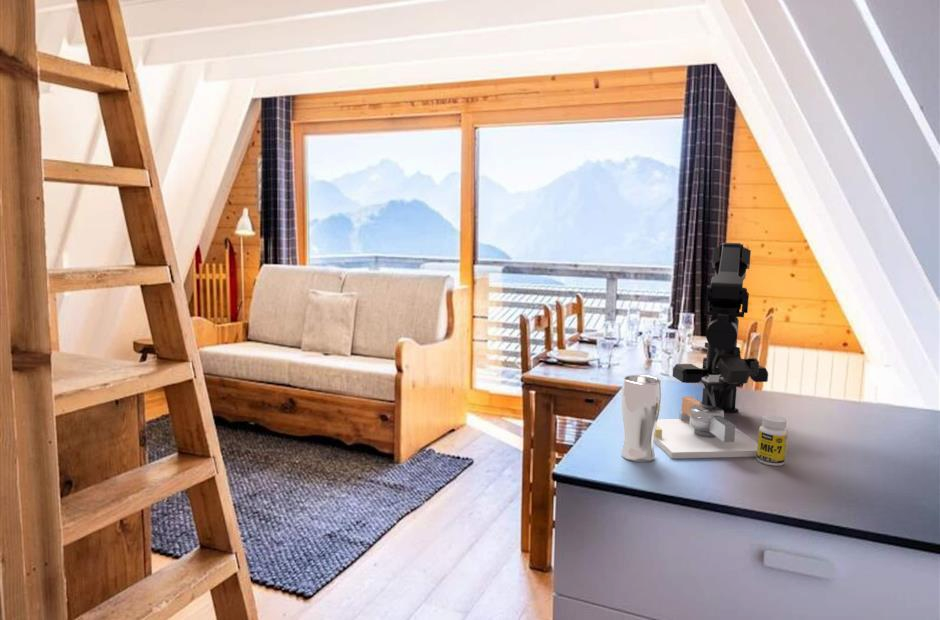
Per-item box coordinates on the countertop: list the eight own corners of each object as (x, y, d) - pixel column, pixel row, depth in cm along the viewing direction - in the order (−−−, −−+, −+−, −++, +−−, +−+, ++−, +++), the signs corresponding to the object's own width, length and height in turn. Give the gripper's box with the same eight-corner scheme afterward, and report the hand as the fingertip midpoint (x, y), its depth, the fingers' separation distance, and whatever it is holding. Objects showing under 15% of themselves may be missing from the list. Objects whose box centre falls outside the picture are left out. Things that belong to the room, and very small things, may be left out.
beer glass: (636, 466, 116) (640, 386, 114) (611, 453, 122) (615, 376, 120) (665, 459, 119) (670, 381, 117) (639, 447, 125) (643, 373, 123)
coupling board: (720, 423, 140) (721, 411, 140) (768, 456, 122) (769, 442, 121) (636, 425, 139) (636, 412, 138) (671, 458, 120) (672, 444, 119)
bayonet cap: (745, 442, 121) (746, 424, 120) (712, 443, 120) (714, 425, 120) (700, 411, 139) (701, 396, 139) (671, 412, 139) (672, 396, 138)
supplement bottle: (755, 463, 118) (759, 419, 117) (757, 455, 122) (760, 412, 121) (784, 468, 116) (788, 423, 115) (785, 459, 120) (789, 416, 119)
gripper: (697, 349, 126) (691, 425, 128) (786, 348, 128) (779, 423, 130) (673, 337, 137) (669, 408, 139) (756, 337, 139) (750, 406, 141)
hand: (717, 411), depth 137 cm, fingers closed
